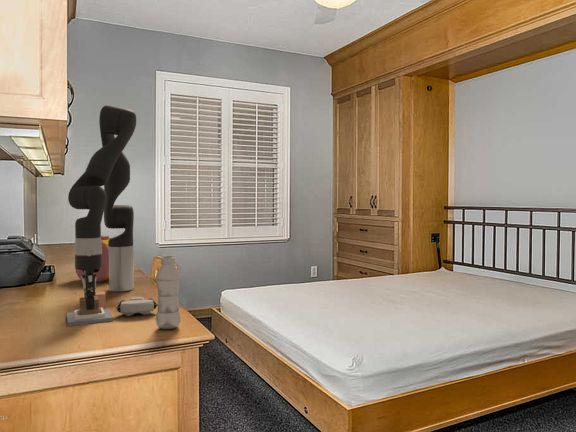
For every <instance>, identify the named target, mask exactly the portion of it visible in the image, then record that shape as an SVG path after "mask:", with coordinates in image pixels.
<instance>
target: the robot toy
mask: <svg viewBox="0 0 576 432" xmlns="http://www.w3.org/2000/svg"><path fill="white" fill-rule="evenodd" d="M156 308H158V302H156V301H155V299H153V298H148V299H146V298H144V296H134V297H133V296H132V297H130V298H129V299H128V300H124V299H123V300H120V301H119V302H118V305H116V306H115V309H117V311H118V312H120V313H121V314H123V315H124V316H126V317H130V316H131V315H132V316H134V315H135V314H140V315H142V316H146V314H147V315H149V314H150V313H151V312H153V311H154V310H155V309H156ZM132 316H131V317H132Z"/></svg>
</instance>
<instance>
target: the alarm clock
mask: <svg viewBox="0 0 576 432" xmlns="http://www.w3.org/2000/svg"><path fill="white" fill-rule="evenodd" d="M110 238H111V237H110V236H109V235H102V234H101V242H102V267H101V268H99V269H94V271H93V272H94V274H96V283H100V282H104V281H107V280H108V281H109V252H108V241H109V239H110ZM74 269H75V273H76V275H77V277H78V278H79V279H80V280H82V278H81V275H83V270H77V269H76V268H75V267H74Z"/></svg>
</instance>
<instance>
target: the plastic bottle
mask: <svg viewBox="0 0 576 432" xmlns="http://www.w3.org/2000/svg"><path fill="white" fill-rule="evenodd" d="M160 264H161V266H160V268H159V270H158V271H157V272H156V275H155V278H156V279H155V280H156V286H157V287H156V288H157V299H158V300H157V303H158V306H157V309H156V310H157V312H156V315H155V324H156V326H157V328H158V329H161V330H171V329H172V330H173V329H176V328H178V327H179V325H180V324H181V319H182V318H181V311H180V304H179V292H180V291H179V289H180V283H181V282H180V281H181V272H180V270H179V269H178V268H177V267H176V266H175V264H176V257H175V256H174V255H165V256H161V257H160Z"/></svg>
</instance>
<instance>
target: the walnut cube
mask: <svg viewBox="0 0 576 432" xmlns="http://www.w3.org/2000/svg"><path fill="white" fill-rule="evenodd" d="M79 310H80V315H88V314H98V313H99V299H98V296H95V297H94V309H93V310H87V309H86V297H79Z"/></svg>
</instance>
